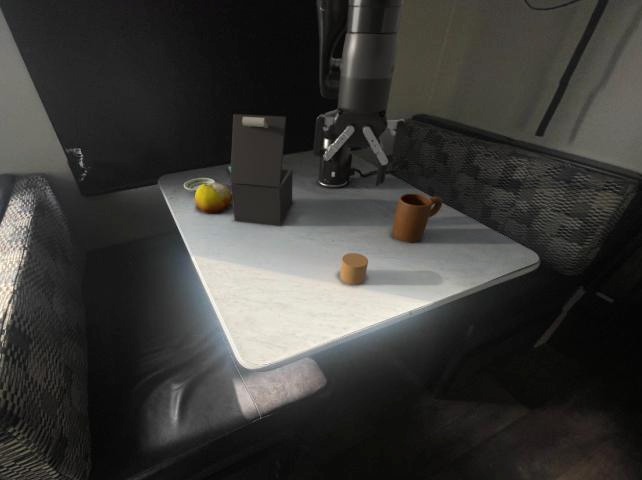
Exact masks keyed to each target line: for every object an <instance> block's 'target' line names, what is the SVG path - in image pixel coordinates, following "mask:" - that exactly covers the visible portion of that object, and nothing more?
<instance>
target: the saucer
mask: <svg viewBox="0 0 642 480" xmlns="http://www.w3.org/2000/svg"><path fill="white" fill-rule="evenodd" d="M209 183H216V180H214V179H213V178H208V177H198V178H192V179H189V180H187V181H185V182H184V183H183V188H184V189H185V190H187V191H188V192H191V193H193V194H195V193H196V190H197V189H198V187H199V186H201V185H202V184H209Z"/></svg>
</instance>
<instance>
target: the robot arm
mask: <svg viewBox="0 0 642 480" xmlns="http://www.w3.org/2000/svg"><path fill="white" fill-rule="evenodd" d="M315 2H316V15H317V27H318V52H319V53H318V55H319V56H318V58H319V59H318V81H319V82H318V85H319V91H320V92H319V93H320V95H321V96H322V97H323V98H324V99H329V100H331V99H332V100H337V108H336V109H333V110H330V111H327V112H324V113H321V114H319V116H317V118H316V122H315V131H314V139H313V140H314V142H313V148H312V154H313V156H314V157H319V167H318V168H319V169H318V178H317V179H318V180H317V181H318V182H317V183H318V184H319V185H320V186H322V187H325V188H332V189H336V188H337V189H339V188H342V187H345V186H347V184H350V179H351V177H352V176H355V175H356V174H355V173H356V172H357V173H358V174H359V176H360V177H368V176H370V175H372V174H376V177H375V182H374V187H377V188H379V187H380V185H381V184H383V183H384V182H385V179H386V174H389V173H394V172H395V171H397V170H398V169H399V170H403V167H402V166H401V165H397V166H395V167H394V168H393V169H389V170H388V169H387V168H388V165H389V164H391V163H394V162H395V163H397V162H399V161H400V160H401V157H402V150H403V142H404V135H405V130H406V120H405V118H403V117H399V118H398V119H388V118H387V110H388V105H389V100H390V93H391V87H392V82H393V75H394V72H395V66H396V65H395V64H396V59H397V49H398V36H399V35H398V33H399V29H400V22H401V17H402V12H403V11H402V10H403V7H404V6H403V5H404V0H315ZM344 32H346V33H345V39H344V42H343V49H342V53H341V58H334V57H333V54H334V51H335V49H336V46H337V44H338V42H339V40H340V39H341V38H342V35H343V34H344ZM387 129H389V131H390V135H391V136H393V137H394V139H393V147H392V151H391V152H387V151H386V149H385V147H384V144H383V142H382V140H381V139H380V137H381V136H382V135H383V133H384V132H385V131H386V130H387ZM370 147H371V150H372V151H373V153H374V154H375V156H376V157H377V159H378V163H377V164H378V165H377V169H376V170H371V171H369V172H366V173H362V171H361V170H360V169H358V168H356V167H355V166H353V165H352V161H353V152H352V151H351V149H353V148H359V149H364V150H366V149H368V148H370Z"/></svg>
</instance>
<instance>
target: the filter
mask: <svg viewBox="0 0 642 480" xmlns="http://www.w3.org/2000/svg"><path fill="white" fill-rule="evenodd" d="M368 265H369V259H368V257H367V256H366V255H364V254H361V253H357V252H348V253H345V254H344V255H343V256H342V258H341V265H340V271H339V272H340V273H339V278H340V280H341V281H342V282H343V283H345V284H347V285H352V286H357V285H360V284H362V283H364V282H365V280H366V275H367V269H368Z"/></svg>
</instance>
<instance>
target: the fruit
mask: <svg viewBox="0 0 642 480" xmlns="http://www.w3.org/2000/svg"><path fill="white" fill-rule="evenodd" d="M194 202H195V203H194V204H195V205H196V207H197V209H198V210H199V212H201V213H204V214H212V215H213V214H217V213H221V212H222V211H224V210H225V211H226V210H227V209H228V208H229V207H230V205H231V204H232V203H233V199H232V190H231V189H230V188H228V187H227V186H226V185H224V184H221V183H219V182H215V183H209V184H202V185H201V186H199V187H198V189H197V190H196V193H194Z"/></svg>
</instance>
